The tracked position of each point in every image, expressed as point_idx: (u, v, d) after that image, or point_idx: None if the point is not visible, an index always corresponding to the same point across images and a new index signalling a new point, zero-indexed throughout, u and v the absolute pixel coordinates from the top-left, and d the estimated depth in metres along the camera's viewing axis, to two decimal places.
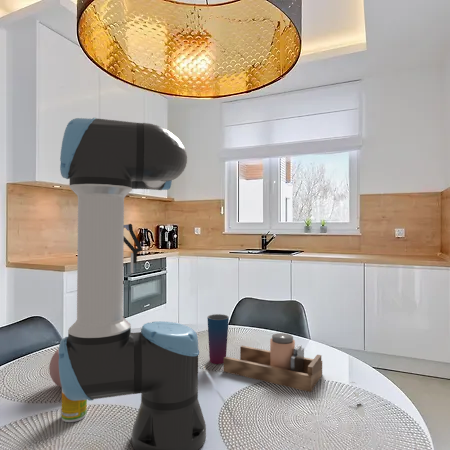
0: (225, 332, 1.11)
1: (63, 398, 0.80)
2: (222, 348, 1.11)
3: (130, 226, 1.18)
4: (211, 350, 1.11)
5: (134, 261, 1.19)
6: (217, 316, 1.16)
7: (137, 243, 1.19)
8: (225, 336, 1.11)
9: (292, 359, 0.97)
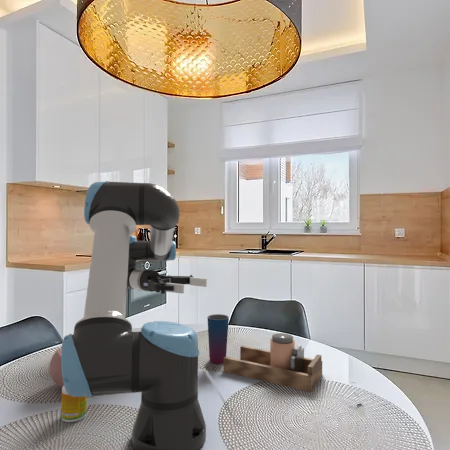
0: (225, 332, 1.11)
1: (63, 398, 0.80)
2: (222, 348, 1.11)
3: None
4: (211, 350, 1.11)
5: None
6: (217, 316, 1.16)
7: (185, 276, 1.29)
8: (225, 336, 1.11)
9: (292, 359, 0.97)
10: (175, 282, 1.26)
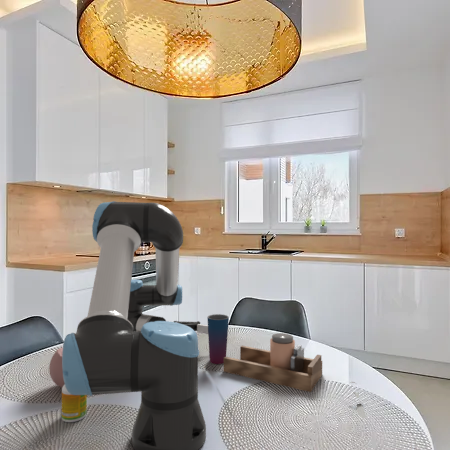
0: (225, 332, 1.11)
1: (63, 398, 0.80)
2: (222, 348, 1.11)
3: (176, 321, 1.29)
4: (211, 350, 1.11)
5: None
6: (217, 316, 1.16)
7: (192, 322, 1.28)
8: (225, 336, 1.11)
9: (292, 359, 0.97)
10: None
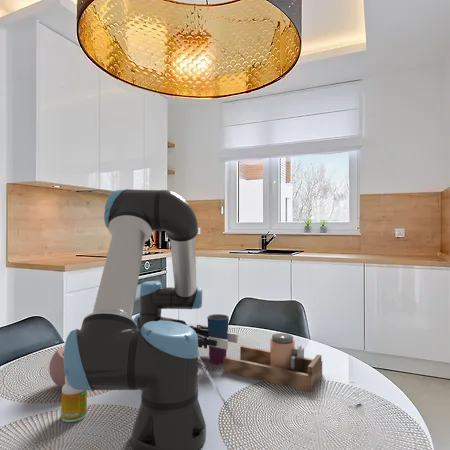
0: (225, 332, 1.11)
1: (63, 398, 0.80)
2: None
3: (199, 325, 1.24)
4: (211, 350, 1.11)
5: None
6: (217, 316, 1.16)
7: None
8: (225, 336, 1.11)
9: (292, 359, 0.97)
10: (202, 335, 1.18)
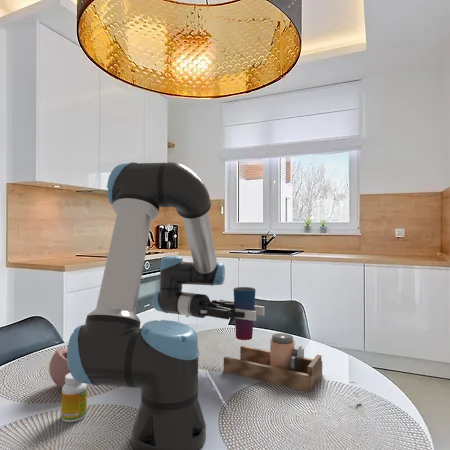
0: (252, 304, 1.07)
1: (63, 398, 0.80)
2: (249, 320, 1.07)
3: (221, 300, 1.20)
4: (238, 323, 1.07)
5: None
6: (243, 288, 1.12)
7: None
8: (252, 308, 1.08)
9: (292, 359, 0.97)
10: None
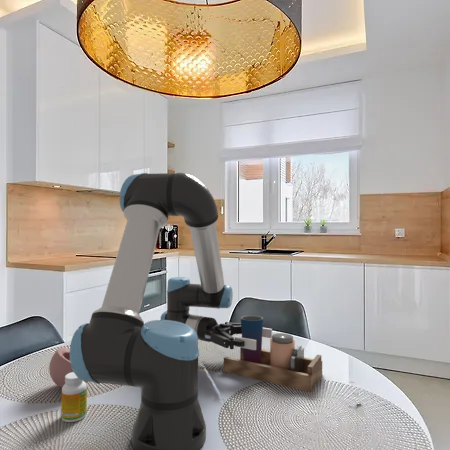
0: (260, 334, 1.06)
1: (63, 398, 0.80)
2: (257, 351, 1.05)
3: (227, 322, 1.19)
4: (245, 353, 1.06)
5: None
6: (250, 317, 1.11)
7: None
8: (260, 338, 1.06)
9: (292, 359, 0.97)
10: (235, 331, 1.14)
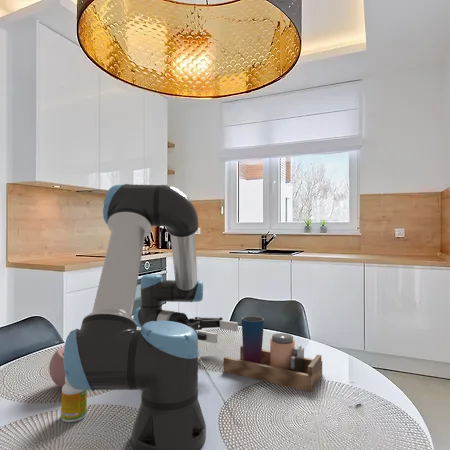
0: (261, 335, 1.06)
1: (63, 398, 0.80)
2: (257, 352, 1.05)
3: (197, 317, 1.24)
4: (246, 353, 1.06)
5: None
6: (251, 317, 1.11)
7: (214, 318, 1.24)
8: (261, 339, 1.06)
9: (292, 359, 0.97)
10: (204, 325, 1.20)
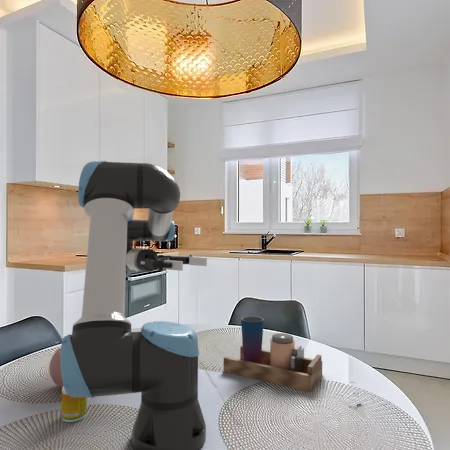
0: (260, 335, 1.05)
1: (63, 398, 0.80)
2: (257, 352, 1.05)
3: (167, 256, 1.24)
4: (246, 354, 1.06)
5: None
6: (251, 317, 1.10)
7: (184, 256, 1.24)
8: (260, 339, 1.06)
9: (292, 359, 0.97)
10: None
